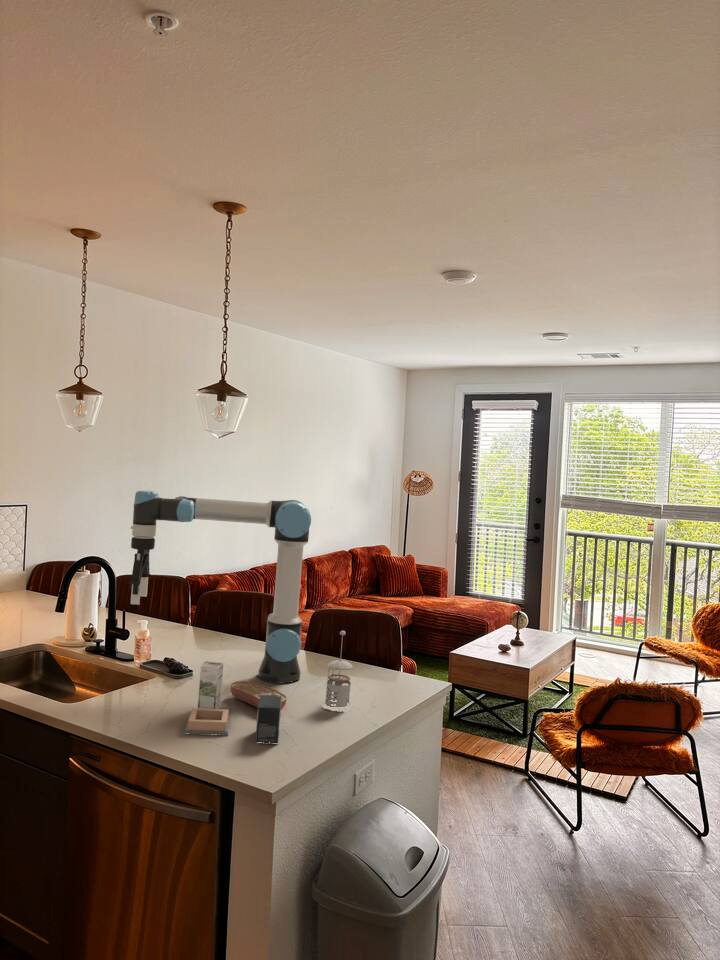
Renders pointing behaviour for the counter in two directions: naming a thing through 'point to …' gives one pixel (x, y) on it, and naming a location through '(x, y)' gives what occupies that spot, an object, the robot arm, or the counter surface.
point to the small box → (268, 719)
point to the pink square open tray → (208, 721)
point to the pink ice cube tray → (254, 692)
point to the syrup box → (210, 685)
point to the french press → (338, 682)
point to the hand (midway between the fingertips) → (138, 600)
